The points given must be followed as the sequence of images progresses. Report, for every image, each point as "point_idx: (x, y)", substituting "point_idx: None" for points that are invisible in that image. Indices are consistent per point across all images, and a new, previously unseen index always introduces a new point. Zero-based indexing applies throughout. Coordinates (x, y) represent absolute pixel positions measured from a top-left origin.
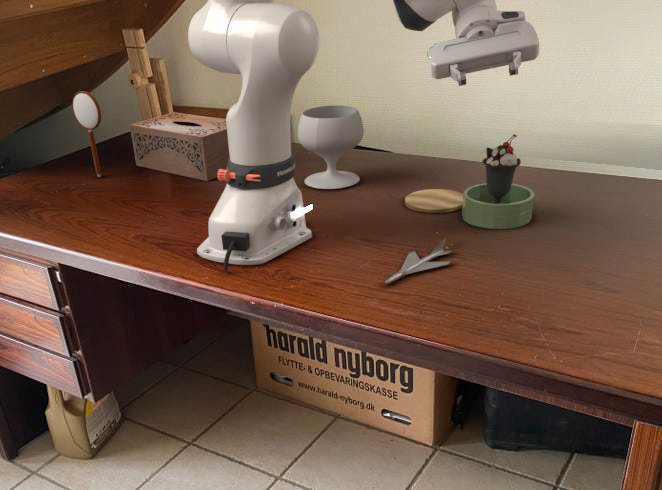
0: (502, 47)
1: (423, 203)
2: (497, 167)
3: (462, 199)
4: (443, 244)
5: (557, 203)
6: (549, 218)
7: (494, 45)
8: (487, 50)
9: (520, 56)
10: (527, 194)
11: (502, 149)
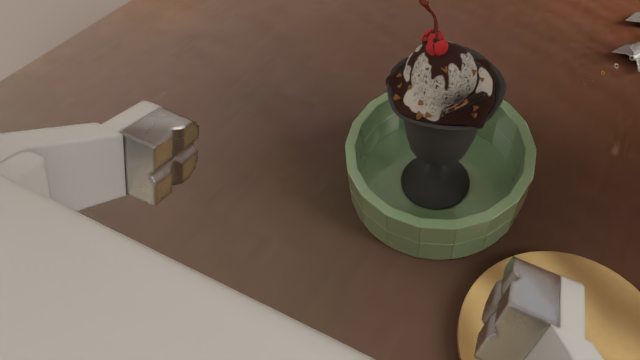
0: (20, 229)
1: (617, 319)
2: (478, 54)
3: (480, 299)
4: (634, 49)
5: (252, 204)
6: (329, 137)
7: (21, 327)
8: (176, 306)
9: (24, 135)
10: (357, 146)
11: (455, 43)
